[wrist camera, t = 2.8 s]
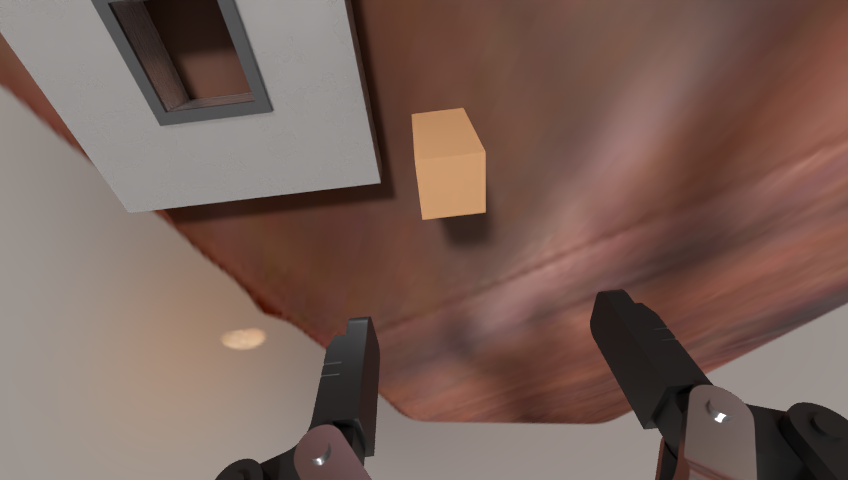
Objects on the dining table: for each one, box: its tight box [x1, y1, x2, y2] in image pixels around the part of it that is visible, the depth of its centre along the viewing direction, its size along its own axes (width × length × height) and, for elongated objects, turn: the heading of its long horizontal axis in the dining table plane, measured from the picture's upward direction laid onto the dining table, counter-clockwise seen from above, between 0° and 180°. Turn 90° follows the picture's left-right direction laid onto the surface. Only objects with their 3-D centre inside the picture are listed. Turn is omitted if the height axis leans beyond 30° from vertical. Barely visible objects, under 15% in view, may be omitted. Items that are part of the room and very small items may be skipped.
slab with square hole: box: [0, 0, 382, 213], centre depth 22 cm, size 20×20×3 cm
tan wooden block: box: [412, 108, 486, 220], centre depth 24 cm, size 4×4×9 cm
